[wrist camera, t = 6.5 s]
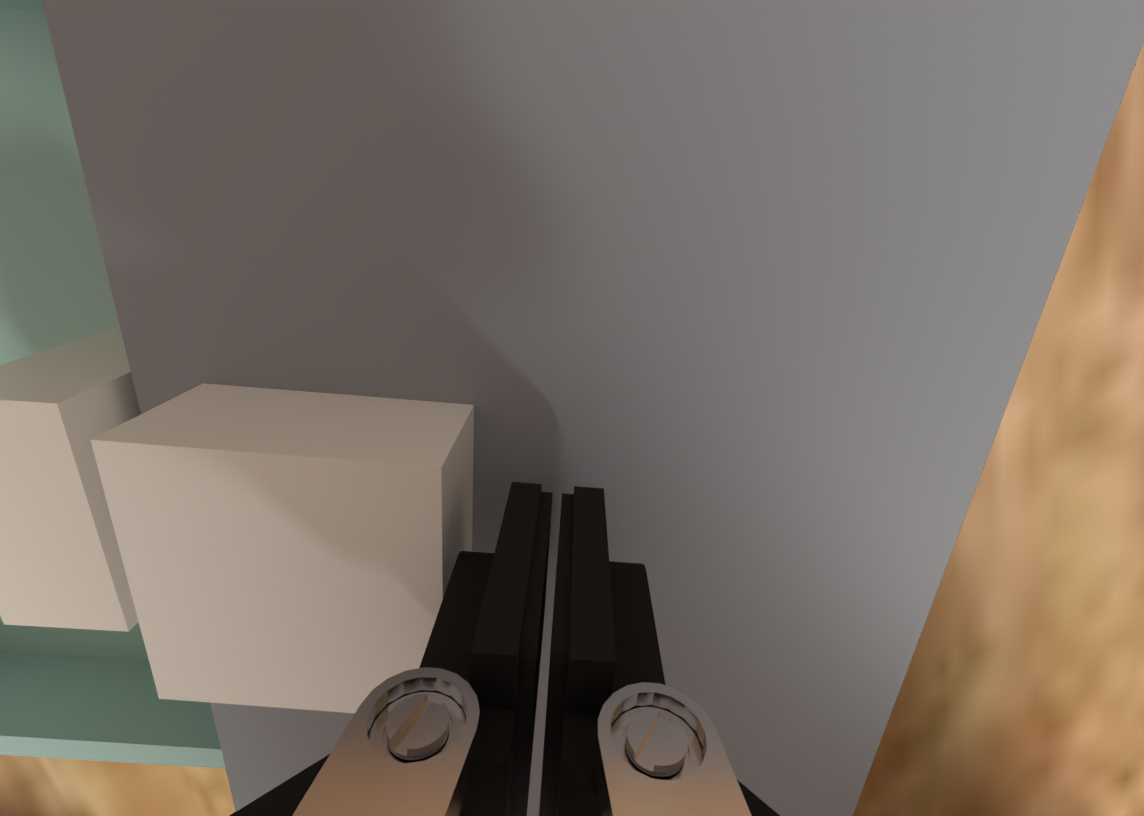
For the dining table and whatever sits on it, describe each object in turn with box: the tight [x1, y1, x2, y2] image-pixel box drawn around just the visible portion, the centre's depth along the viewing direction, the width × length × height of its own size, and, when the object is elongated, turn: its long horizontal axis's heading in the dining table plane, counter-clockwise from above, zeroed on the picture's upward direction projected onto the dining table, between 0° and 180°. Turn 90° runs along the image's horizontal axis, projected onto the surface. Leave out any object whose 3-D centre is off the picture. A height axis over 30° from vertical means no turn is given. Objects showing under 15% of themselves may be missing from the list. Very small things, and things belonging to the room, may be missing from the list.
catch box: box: [0, 0, 226, 769], centre depth 14 cm, size 12×20×4 cm, turn 176°
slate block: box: [42, 0, 1144, 816], centre depth 13 cm, size 16×20×5 cm
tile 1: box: [0, 327, 141, 632], centre depth 13 cm, size 5×5×2 cm
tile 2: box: [91, 383, 474, 713], centre depth 10 cm, size 5×5×2 cm
